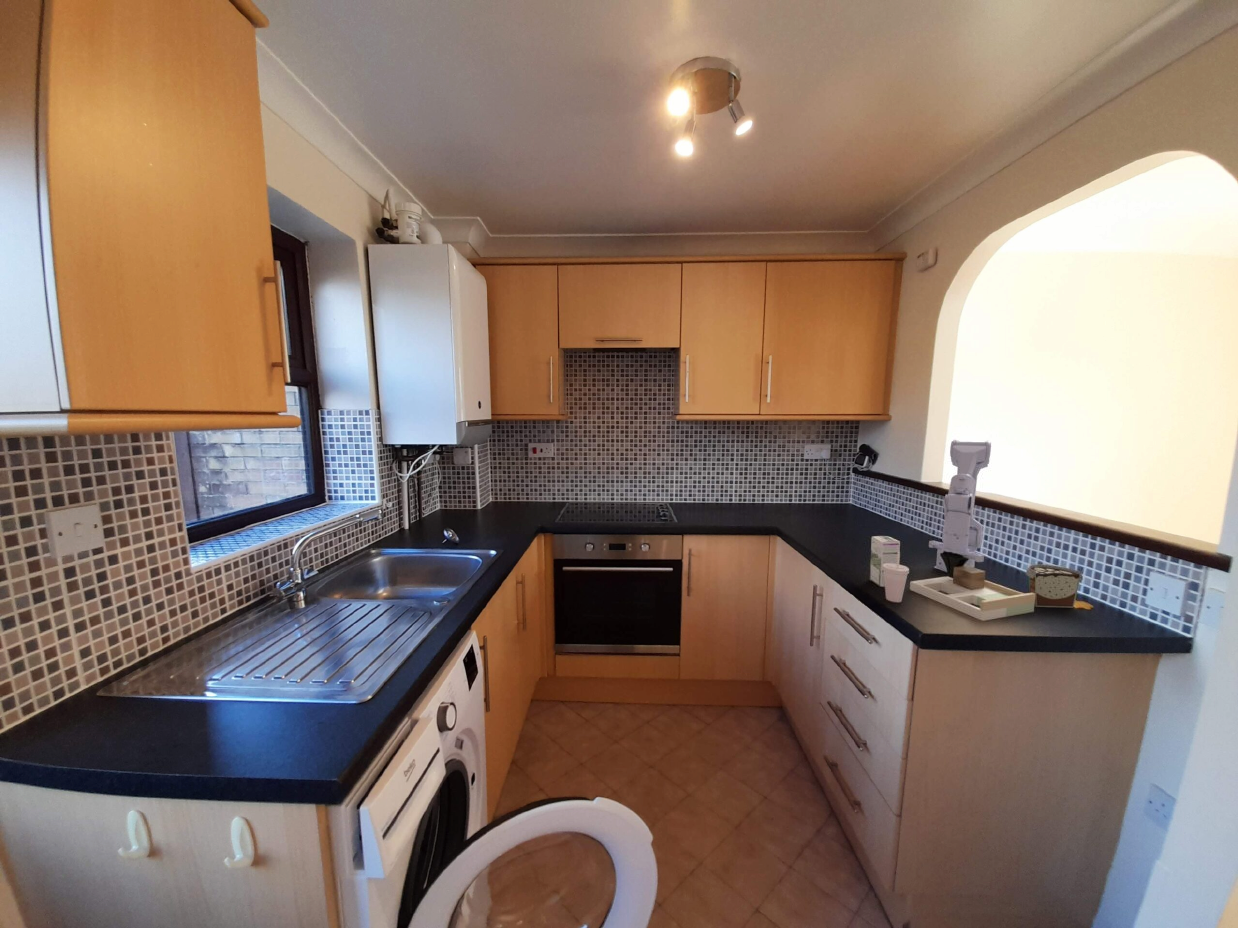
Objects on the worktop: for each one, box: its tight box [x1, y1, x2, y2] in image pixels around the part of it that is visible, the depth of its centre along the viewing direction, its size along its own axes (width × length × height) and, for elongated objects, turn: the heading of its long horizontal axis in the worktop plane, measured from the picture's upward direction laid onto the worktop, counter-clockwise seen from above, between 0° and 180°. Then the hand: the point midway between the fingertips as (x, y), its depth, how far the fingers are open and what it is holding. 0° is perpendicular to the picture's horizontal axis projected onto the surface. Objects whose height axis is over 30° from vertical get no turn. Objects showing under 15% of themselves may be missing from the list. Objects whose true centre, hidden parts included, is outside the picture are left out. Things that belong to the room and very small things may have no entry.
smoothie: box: [882, 552, 910, 603], centre depth 117 cm, size 6×6×14 cm
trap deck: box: [909, 575, 1035, 622], centre depth 116 cm, size 20×18×5 cm
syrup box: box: [869, 535, 901, 588], centre depth 128 cm, size 6×6×14 cm
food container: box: [1025, 563, 1084, 609], centre depth 114 cm, size 12×6×10 cm, turn 84°
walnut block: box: [953, 566, 986, 590], centre depth 120 cm, size 5×5×5 cm
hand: (952, 577), depth 124 cm, fingers closed
